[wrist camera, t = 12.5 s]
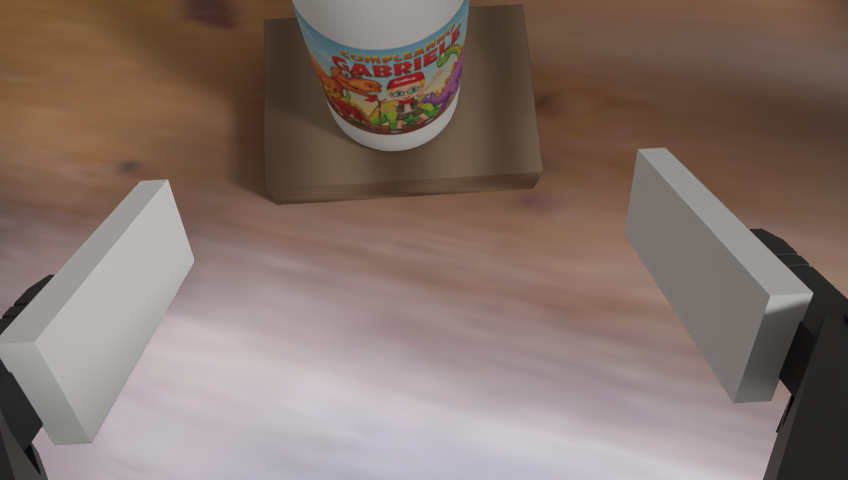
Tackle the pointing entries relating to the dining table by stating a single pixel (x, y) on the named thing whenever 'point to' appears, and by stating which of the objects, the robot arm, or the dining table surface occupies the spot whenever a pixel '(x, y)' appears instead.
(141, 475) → the dining table surface
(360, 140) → the milk bottle
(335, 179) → the brown flat block
